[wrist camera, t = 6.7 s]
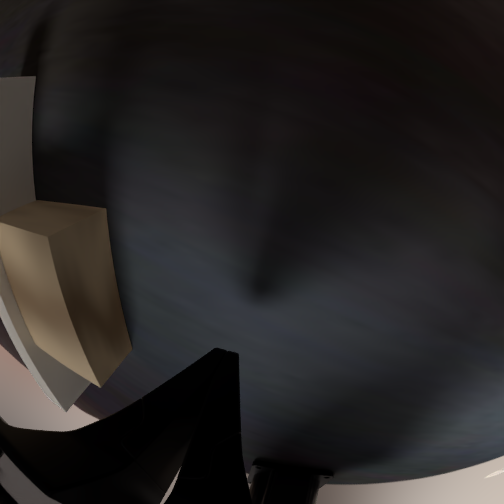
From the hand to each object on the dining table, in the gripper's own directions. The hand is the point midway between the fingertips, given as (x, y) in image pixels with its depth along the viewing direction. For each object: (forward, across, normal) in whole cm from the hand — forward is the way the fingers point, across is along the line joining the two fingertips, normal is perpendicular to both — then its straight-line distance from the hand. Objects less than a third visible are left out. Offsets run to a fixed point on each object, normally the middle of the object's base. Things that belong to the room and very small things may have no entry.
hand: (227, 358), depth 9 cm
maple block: (+2, +9, 0) cm, 9 cm away
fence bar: (+2, +13, 0) cm, 14 cm away
